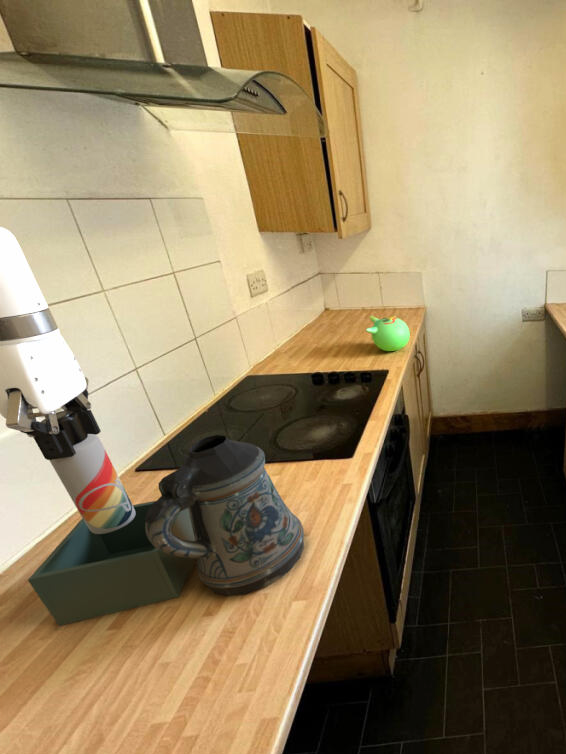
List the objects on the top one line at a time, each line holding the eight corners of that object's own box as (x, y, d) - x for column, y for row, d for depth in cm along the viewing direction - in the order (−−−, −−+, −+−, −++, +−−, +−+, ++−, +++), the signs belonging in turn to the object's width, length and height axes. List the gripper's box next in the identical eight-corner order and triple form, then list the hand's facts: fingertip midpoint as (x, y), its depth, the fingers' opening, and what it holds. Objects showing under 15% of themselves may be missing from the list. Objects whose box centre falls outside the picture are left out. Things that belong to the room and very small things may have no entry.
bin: (58, 626, 63) (27, 579, 59) (109, 555, 76) (86, 513, 72) (178, 597, 68) (157, 552, 64) (207, 534, 80) (191, 494, 76)
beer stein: (317, 521, 83) (288, 411, 73) (283, 607, 66) (238, 478, 56) (229, 531, 81) (186, 419, 71) (169, 622, 64) (101, 490, 54)
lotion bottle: (128, 529, 66) (71, 420, 57) (83, 539, 64) (17, 428, 56) (142, 506, 71) (91, 402, 62) (100, 515, 69) (42, 409, 60)
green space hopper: (411, 354, 174) (407, 320, 168) (369, 358, 170) (364, 323, 165) (411, 341, 190) (407, 310, 184) (372, 344, 186) (367, 312, 181)
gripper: (24, 314, 60) (78, 423, 68) (-88, 350, 45) (-2, 485, 53) (88, 309, 62) (133, 415, 70) (1, 343, 48) (71, 473, 55)
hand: (74, 444), depth 61 cm, fingers closed on lotion bottle, 5 cm apart
